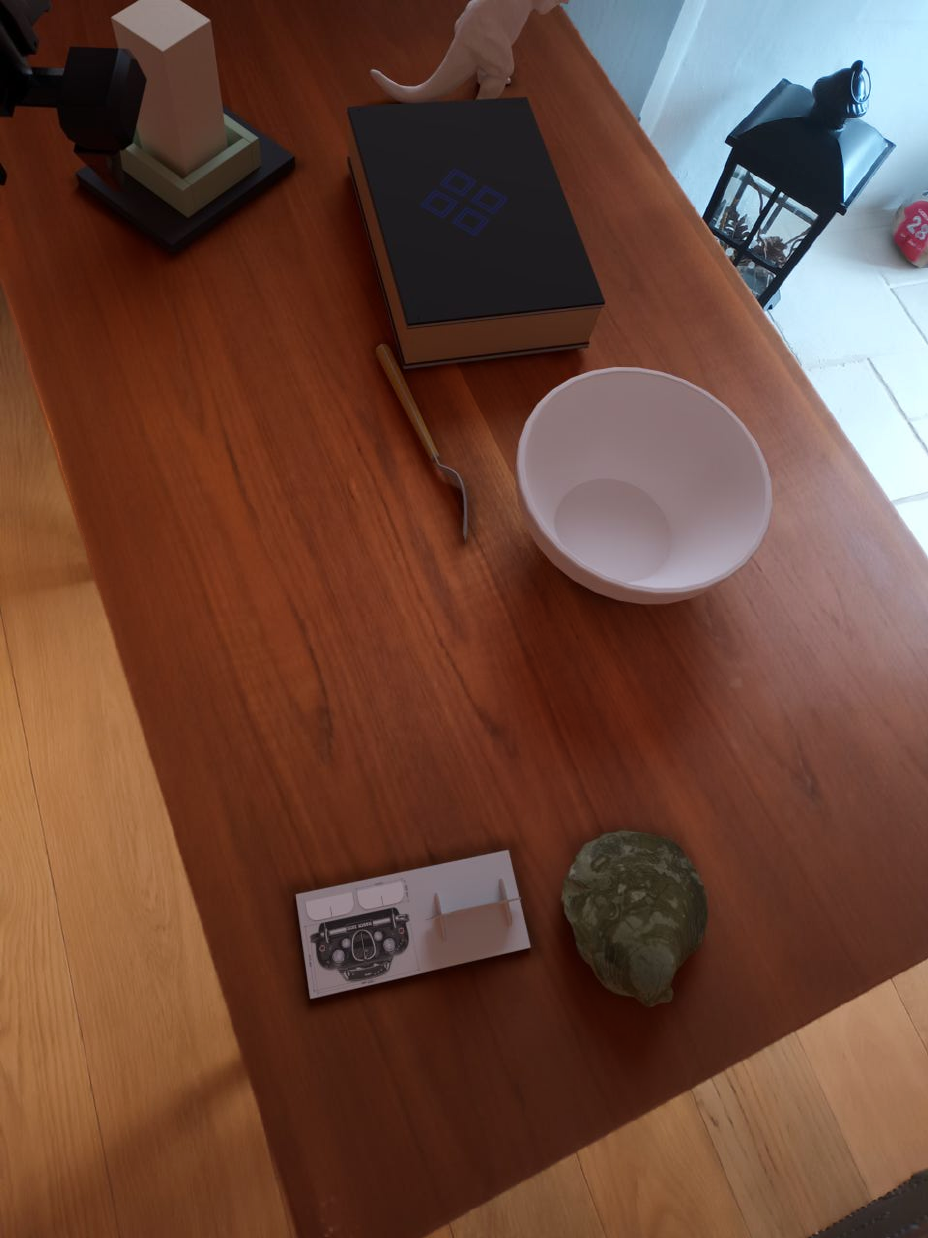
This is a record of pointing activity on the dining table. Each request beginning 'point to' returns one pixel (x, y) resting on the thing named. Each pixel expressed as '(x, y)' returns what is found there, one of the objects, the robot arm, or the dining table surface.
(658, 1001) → the seashell
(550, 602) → the dining table surface
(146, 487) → the dining table surface
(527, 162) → the book
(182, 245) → the stepped rectangular base
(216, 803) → the dining table surface
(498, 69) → the dinosaur figurine
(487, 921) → the car cutout
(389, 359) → the fork
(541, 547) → the bowl
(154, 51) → the white rectangular block
